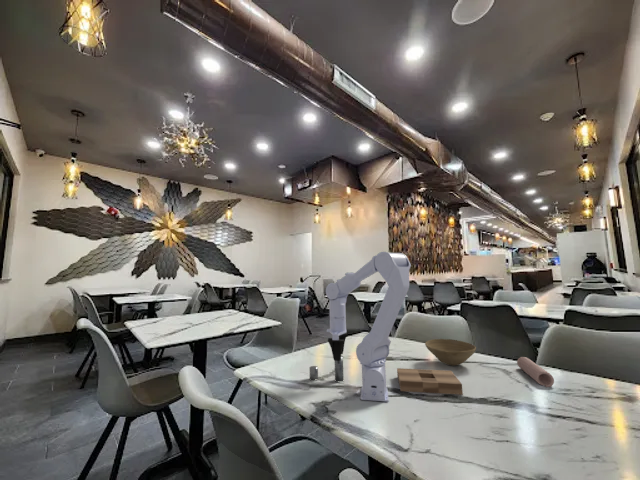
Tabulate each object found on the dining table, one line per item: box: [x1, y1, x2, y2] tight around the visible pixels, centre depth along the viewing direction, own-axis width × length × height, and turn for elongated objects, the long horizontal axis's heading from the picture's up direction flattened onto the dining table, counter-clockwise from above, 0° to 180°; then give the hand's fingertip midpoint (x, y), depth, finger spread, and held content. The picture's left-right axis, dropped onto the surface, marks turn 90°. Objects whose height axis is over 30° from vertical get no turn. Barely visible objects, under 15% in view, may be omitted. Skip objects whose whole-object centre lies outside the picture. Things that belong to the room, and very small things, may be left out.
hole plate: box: [396, 367, 463, 395], centre depth 91 cm, size 12×18×3 cm, turn 79°
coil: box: [516, 356, 555, 388], centre depth 97 cm, size 5×5×18 cm
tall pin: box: [333, 355, 345, 382], centre depth 97 cm, size 3×3×8 cm
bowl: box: [424, 338, 477, 367], centre depth 112 cm, size 18×18×8 cm
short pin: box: [309, 365, 319, 381], centre depth 99 cm, size 3×3×4 cm
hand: (338, 357), depth 98 cm, fingers open, 7 cm apart
